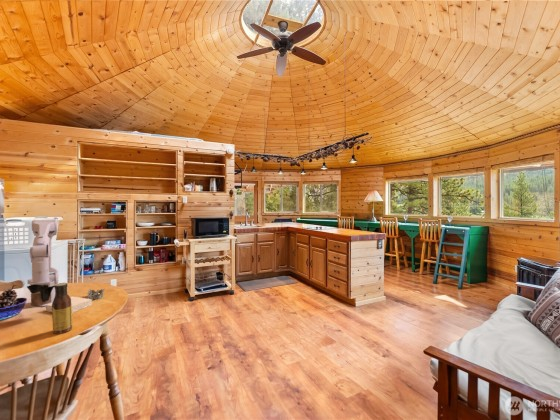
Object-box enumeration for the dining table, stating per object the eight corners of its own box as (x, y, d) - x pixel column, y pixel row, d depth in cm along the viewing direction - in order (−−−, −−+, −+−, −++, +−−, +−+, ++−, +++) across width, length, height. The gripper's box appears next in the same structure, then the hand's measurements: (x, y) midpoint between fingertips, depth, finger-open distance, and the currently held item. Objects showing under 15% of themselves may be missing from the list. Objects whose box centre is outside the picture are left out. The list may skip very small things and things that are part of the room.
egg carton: (89, 295, 149) (89, 288, 149) (105, 293, 152) (105, 286, 152) (86, 301, 139) (85, 294, 139) (102, 299, 143) (102, 292, 143)
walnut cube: (31, 304, 118) (30, 294, 118) (43, 300, 123) (43, 290, 123) (38, 306, 117) (38, 295, 116) (51, 302, 121) (51, 291, 121)
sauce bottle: (60, 327, 110) (59, 281, 110) (76, 327, 111) (75, 280, 110) (48, 335, 104) (47, 286, 103) (64, 334, 104) (63, 285, 104)
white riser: (46, 311, 127) (45, 305, 127) (71, 302, 138) (71, 296, 138) (67, 314, 123) (66, 308, 123) (91, 305, 134) (91, 299, 134)
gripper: (19, 272, 117) (19, 301, 118) (41, 274, 113) (42, 305, 114) (37, 268, 124) (38, 296, 125) (59, 270, 120) (59, 299, 121)
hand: (41, 300), depth 120 cm, fingers closed on walnut cube, 5 cm apart
